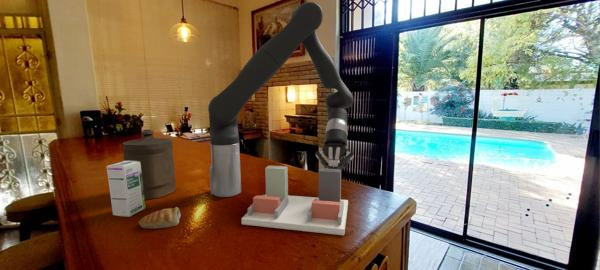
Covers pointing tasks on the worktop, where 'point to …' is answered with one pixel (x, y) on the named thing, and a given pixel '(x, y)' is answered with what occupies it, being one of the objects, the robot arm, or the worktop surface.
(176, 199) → the worktop surface
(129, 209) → the syrup box
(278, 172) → the pale green tall block
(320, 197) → the grey upright block
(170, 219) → the pastry
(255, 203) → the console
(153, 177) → the grey canister
